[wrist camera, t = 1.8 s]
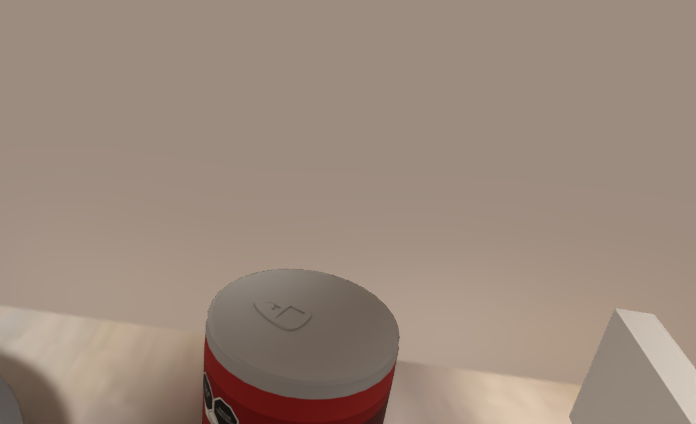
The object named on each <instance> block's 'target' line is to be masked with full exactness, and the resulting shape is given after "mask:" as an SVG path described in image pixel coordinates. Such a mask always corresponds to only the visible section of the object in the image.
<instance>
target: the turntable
mask: <svg viewBox="0 0 696 424" xmlns="http://www.w3.org/2000/svg"><path fill="white" fill-rule="evenodd" d="M0 424H23V419H22V416H21V412H20V408H19V404H18V401H17V399H16V398H15V396H14V394H13V392H12V390H11V388H10V386H9V385H8V384H7V383H6V381H5V380H4V379H3V378H2V377H1V376H0Z"/></svg>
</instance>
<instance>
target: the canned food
mask: <svg viewBox="0 0 696 424" xmlns="http://www.w3.org/2000/svg"><path fill="white" fill-rule="evenodd" d="M398 343H399V330H398V325H397V323H396V320H395V318H394V316H393V314H392V313H391V312H390V310H389V309H388V308H387V307H386V305H385V304H384V303H383V302H382V301H380V300H379V299H378V298H377V297H376V296H375V295H373V294H372V293H370V292H369V291H367V290H366V289H364V288H363V287H361V286H359V285H357V284H354V283H353V282H351V281H348V280H345V279H343V278H340V277H337V276H334V275H330V274H326V273H322V272H316V271H310V270H303V269H277V270H267V271H262V272H257V273H253V274H250V275H247V276H244V277H241V278H239V279H238V280H235V281H233V282H232V283H230V284H228V285H227V286H226V287H224V288H223V289H222V290H221V291H219V293H218V294H217V295H216V296H215V298H214V299H213V300H212V302H211V305H210V308H209V311H208V319H207V321H206V334H205V347H204V379H203V415H202V424H383V421H384V417H385V412H386V408H387V403H388V399H389V394H390V390H391V386H392V381H393V376H394V371H395V365H396V360H397V355H398V350H399V347H398Z"/></svg>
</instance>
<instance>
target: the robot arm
mask: <svg viewBox="0 0 696 424" xmlns="http://www.w3.org/2000/svg"><path fill="white" fill-rule="evenodd" d="M569 417H570V420H571V422H572V424H696V369H695V367H694V366H693V365H692V363H691V362H690V361H689V359H688V358H687V357H686V355H685V354H684V353H683V351H682V350H681V349H680V347H679V346H678V345H677V344H676V342H675V341H674V340H673V338H672V337H671V336H670V334H669V333H668V332H667V330H666V329H665V328H664V327H663V325H662V324H661V323H660V321H659V320H658V319H657V317H656V316H655V315H654V314H649V313H643V312H636V311H630V310H624V309H617V308H615V309H614V311H613V313H612V316H611V318H610V321H609V323H608V325H607V328H606V330H605V332H604V335H603V337H602V340H601V342H600V344H599V347H598V349H597V352H596V354H595V356H594V359H593V361H592V364H591V366H590V368H589V370H588V373H587V375H586V378H585V380H584V382H583V385H582V387H581V389H580V392H579V394H578V396H577V399H576V401H575V404H574V406H573V408H572V411H571V413H570V415H569Z"/></svg>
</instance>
